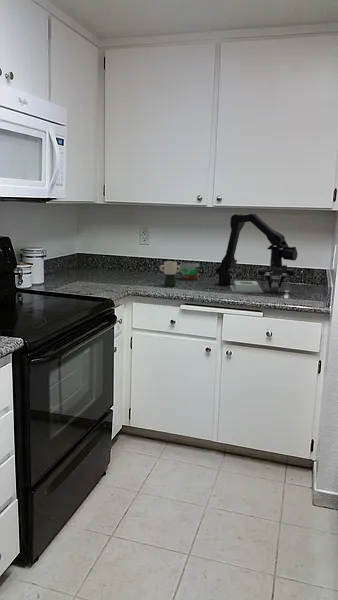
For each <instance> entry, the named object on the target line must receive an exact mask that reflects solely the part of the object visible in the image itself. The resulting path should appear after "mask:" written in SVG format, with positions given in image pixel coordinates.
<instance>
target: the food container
mask: <svg viewBox="0 0 338 600" xmlns="http://www.w3.org/2000/svg"><path fill="white" fill-rule="evenodd" d="M179 266H180V273H181V274H180V275H181V280H183V281H197V280H198V275H199V267H200V262H197V263H191V262H182V261H180V262H179Z"/></svg>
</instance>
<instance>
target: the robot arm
mask: <svg viewBox="0 0 338 600" xmlns="http://www.w3.org/2000/svg"><path fill="white" fill-rule="evenodd" d="M247 222H248V223H249V222H251V224H252V225H254V226H255V227H256V228H257V229H258V230H259V231H261V232H262V234H263V235H265V237H266V238H267V240H268V242H269V243H270V246H268V247H267V249H266V250H270V261H269V262H270V263H269V264H270V266H269V269H266V268H264V267H257V268H256V274H257V275H259V276H263V277H265V278H266V282H267V285H268V288H269V289H270V286H271V284H270V281H271V274H272V275H273V276H277V275H279V276H278V277H279V289H280V288H281V285H282V283H283V281H284V279H285V278H287V277H288V276H289V277H291V276H295V270H294V269H293V268H288V265H287V264H283V260H284V261H285V260H287V261H297V259H298V250H297V247H296V246H289V245H288V243H287V241H286V239H285V237H286V236H284V235H283V234H282V233H280V232H279V231H276V230H274V229H273V228H272V227H270V226H269V225H268V224H267V223H266V222H265V221H264V220H262V219H261V218H260V217H259V216H258V215H257V214H256V213H249V214H243V213H239V214H233V215H231V217H230V235H229V239H228V243H227V248H226V252H225V255H224V256H223V258H222V260H221V262H220V265H219V266H218V267H217V268H216V270H215V273H216V274H217V285H218V286H230V285H231V283H232V282H231V280H232V279H231V278H232V277H231V273H233V271H234V269H235V268H236V267H237V265H236V264H237V262H238V260H237V259H235V256H236V255H235V254H236V250H237V246H238V241H239V237H240V232H241V230H242V229H243V228H244V227H245V223H247Z"/></svg>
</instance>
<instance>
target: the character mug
mask: <svg viewBox="0 0 338 600" xmlns="http://www.w3.org/2000/svg"><path fill="white" fill-rule="evenodd" d="M159 269H160V272H163V273H164V274H165V277H164V282H163V284H164V286H167V287H168V286H170V287H171V286H172V287H173V286H175V285H177V283H176V276H175V275H176V274H177V272H178V273H179V272H180V273H181V266H180V265H178V262H177V261H173V260H171V261H164V262H163V264H160V267H159Z"/></svg>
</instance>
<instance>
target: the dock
mask: <svg viewBox="0 0 338 600" xmlns="http://www.w3.org/2000/svg"><path fill="white" fill-rule="evenodd" d="M229 287H230V290H231V291H232V293H251V294H252V293H262V294H264V291H263V289H262V288H261V286H260V284H259V283H258V282H257V281H256V280H234V281H233V285H232V284H230V285H229Z"/></svg>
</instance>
